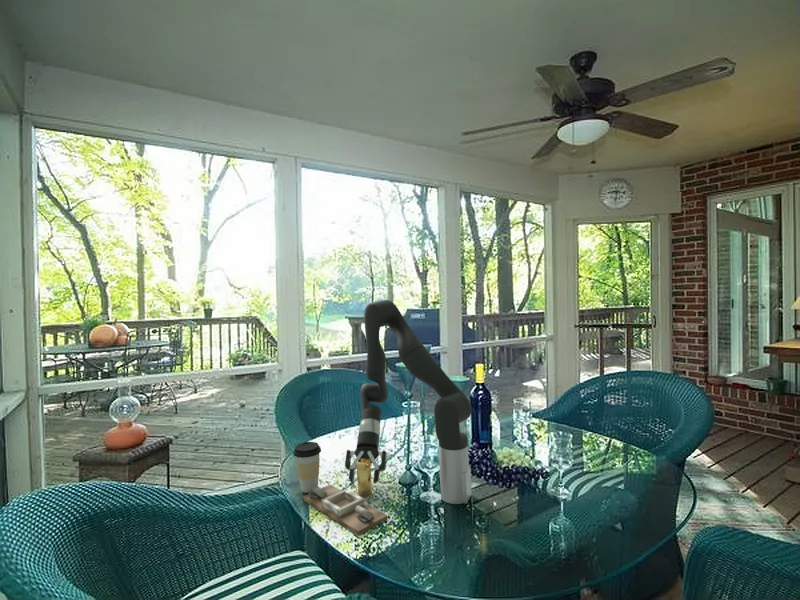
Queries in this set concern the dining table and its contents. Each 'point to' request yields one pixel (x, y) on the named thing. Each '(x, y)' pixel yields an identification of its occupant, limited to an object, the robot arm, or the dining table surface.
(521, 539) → the dining table surface
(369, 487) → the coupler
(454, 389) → the robot arm
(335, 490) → the clamping jig board
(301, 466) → the coffee cup
